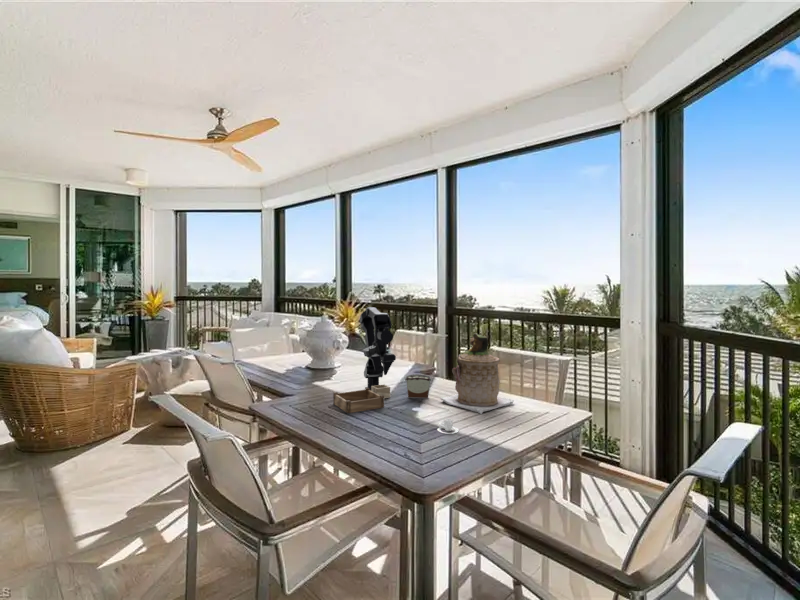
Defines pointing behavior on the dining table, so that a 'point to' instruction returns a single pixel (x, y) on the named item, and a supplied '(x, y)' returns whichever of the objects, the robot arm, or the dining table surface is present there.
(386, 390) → the pale crate
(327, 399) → the dining table surface
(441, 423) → the teacup and saucer
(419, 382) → the food container
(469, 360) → the cookie jar
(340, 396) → the crate
